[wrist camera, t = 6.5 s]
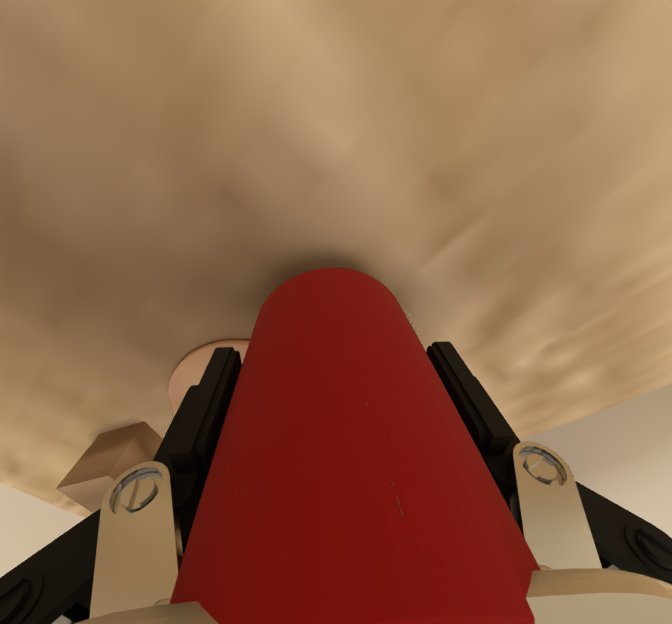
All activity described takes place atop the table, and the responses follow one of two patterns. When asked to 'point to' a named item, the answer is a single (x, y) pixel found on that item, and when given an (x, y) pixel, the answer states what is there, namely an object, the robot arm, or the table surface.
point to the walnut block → (109, 463)
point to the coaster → (197, 368)
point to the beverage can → (349, 479)
